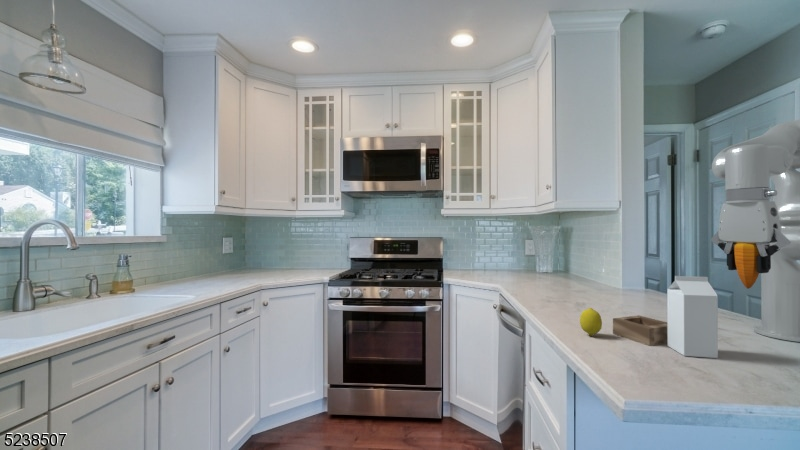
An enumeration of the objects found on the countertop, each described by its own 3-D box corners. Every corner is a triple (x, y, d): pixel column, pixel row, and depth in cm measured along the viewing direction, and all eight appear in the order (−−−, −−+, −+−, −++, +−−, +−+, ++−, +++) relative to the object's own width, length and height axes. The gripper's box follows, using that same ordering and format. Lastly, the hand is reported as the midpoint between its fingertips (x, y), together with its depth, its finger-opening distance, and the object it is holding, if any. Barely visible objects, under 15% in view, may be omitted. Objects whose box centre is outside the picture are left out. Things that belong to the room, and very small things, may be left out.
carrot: (754, 287, 85) (753, 226, 85) (768, 291, 80) (767, 227, 80) (729, 286, 86) (728, 227, 86) (741, 290, 82) (740, 227, 82)
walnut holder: (639, 330, 103) (639, 315, 103) (677, 341, 93) (677, 325, 93) (612, 333, 100) (612, 318, 100) (649, 345, 90) (649, 328, 90)
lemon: (602, 334, 99) (602, 307, 99) (601, 340, 94) (601, 311, 94) (580, 331, 102) (580, 304, 102) (579, 336, 97) (579, 308, 97)
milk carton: (718, 358, 81) (717, 279, 81) (684, 356, 82) (683, 278, 83) (698, 348, 88) (698, 274, 88) (667, 346, 89) (667, 274, 89)
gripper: (806, 193, 76) (807, 275, 76) (715, 199, 92) (716, 266, 92) (786, 193, 74) (787, 277, 74) (696, 199, 90) (697, 268, 90)
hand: (747, 270), depth 83 cm, fingers closed on carrot, 4 cm apart
